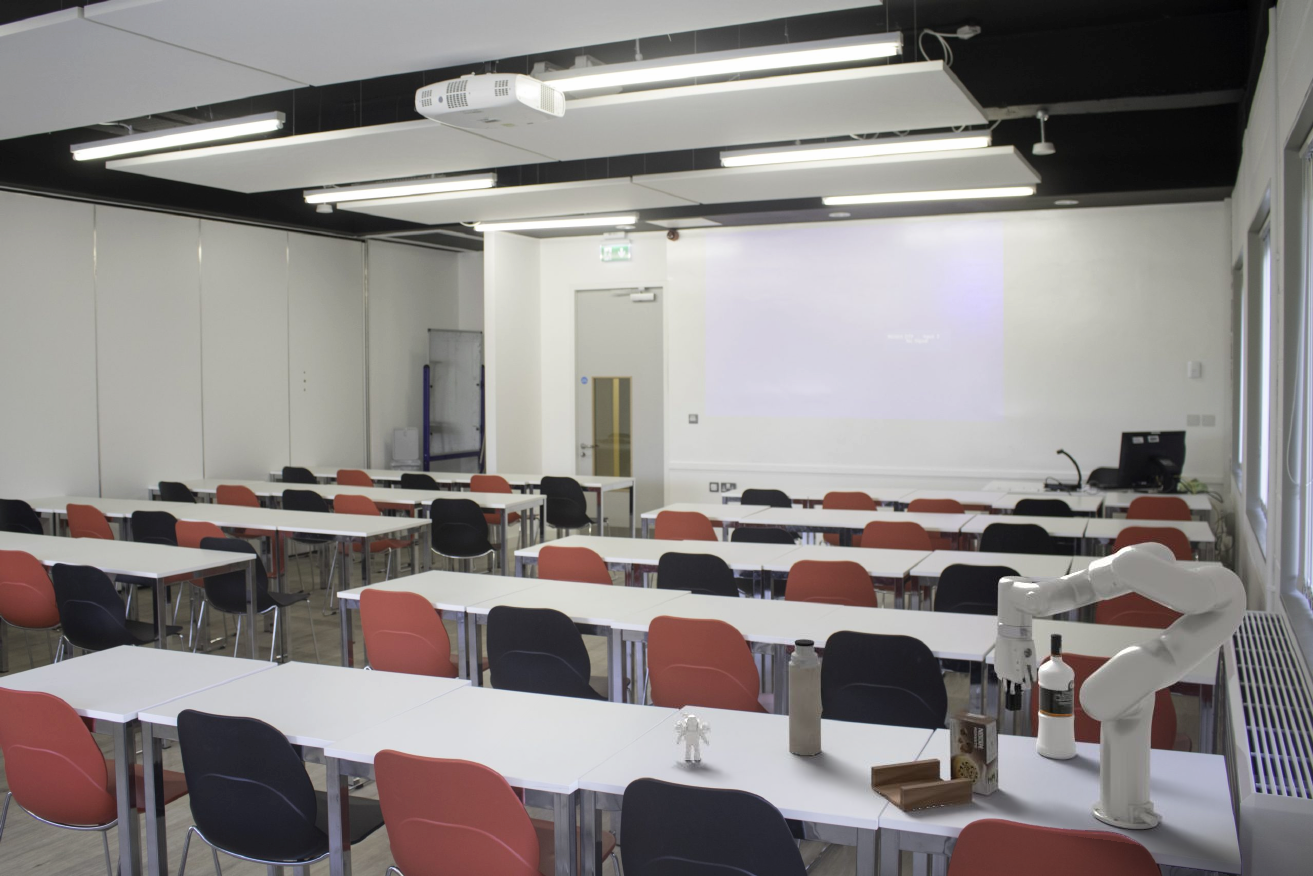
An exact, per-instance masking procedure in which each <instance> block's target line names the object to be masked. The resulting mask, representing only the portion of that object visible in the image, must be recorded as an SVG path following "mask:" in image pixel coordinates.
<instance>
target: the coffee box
mask: <svg viewBox="0 0 1313 876" xmlns="http://www.w3.org/2000/svg"><path fill="white" fill-rule="evenodd" d="M948 719H949V754H950V755H949V758H950V759H949V762H950V764H949V765H950V768H949V769H950V771H949V772H950V777H949V778H950V780H955V779H962V778H970V779H971V780H972V793H976V794H979V795H980V794H981V795H984V796H989V795H991V794H992V793H994V792H995V791H997V790H998V789H999V718H998V717H995V716H994V717H993V716H989V715H984V714H980V713H974V712H969V711H963V710H960V711H958V712H956V713H954V715H952V716H950V717H949V718H948Z"/></svg>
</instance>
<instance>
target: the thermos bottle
mask: <svg viewBox="0 0 1313 876" xmlns="http://www.w3.org/2000/svg"><path fill="white" fill-rule="evenodd" d="M794 645H795V646H794V651H793V652H791V655H790V656H791V657H790V661H788V749H789V752H790V751H791V752H790V753H792V752H793V753H795V754H794V755H797V754H800V755H799V756H802V755H812V756H814V755H813V754H817V753H819V752H820V751H821V752H822V711H821V710H822V697H821V694H822V693H821V690H822V689H821V688H822V687H821V686H822V685H821V683H822V682H821V681H822V680H821V677H822V675H821V674H822V673H821V670H822V669H821V667H822V666H821V665H822V664H821V662H820V661H819V660H818V659H819V655H818V653H817V652H815V646H814V645H815V641H814V640H812V639H807V638H806V639H805V638H801V639H796V640H794ZM821 752H820V753H821ZM793 753H792V754H793ZM820 753H819V754H820ZM817 755H818V754H817Z"/></svg>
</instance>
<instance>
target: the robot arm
mask: <svg viewBox="0 0 1313 876" xmlns="http://www.w3.org/2000/svg"><path fill="white" fill-rule="evenodd" d="M997 588H998V589H997V628H996V629H997V634H996V639H995V646H994V653H993V654H994V655H993V657H994V658H993V666H994V667H993V668H994V673H996V676H997V678H998V679H999V680H1000V681H1001V682H1002V685H1003V691H1004V693H1005V694H1004V695H1005V697H1004V698H1005V700H1004V708H1005V710H1008V711H1010V712H1013V711H1014V712H1015V711H1021V710H1022V697H1023V696H1022V694H1023V693H1024V691H1030V690H1031V689H1032V685H1031V684H1032V683H1036V682H1037V681H1038V680H1037V679H1038V677H1037V676H1038V669H1037V667H1038V665H1037V662H1038V661H1037V654H1036V653H1037V651H1036V650H1037V649H1036V646H1035V645H1036V644H1035V640H1034V639H1033V617H1037V618H1045V617H1049V616H1054V615H1057V614H1061V613H1065V612H1069V611H1072V610H1076V609H1078V608H1081V607H1085V606H1088V605H1091V604H1093V603H1097V602H1100V601H1103V600H1104V601H1108V600H1112V599H1114V598H1118V597H1120V596H1124V595H1127V594H1129V593H1133V592H1134V593H1135V594H1138V595H1141V596H1142V597H1144V598H1147V599H1149V600H1151V601H1153V602H1155V603H1158V604H1159V605H1162V606H1164V607H1167V608H1168V609H1171V610H1173V611H1174V612H1177V613H1180V614H1184V615H1182V616H1181V617H1179V618H1178V619H1176V620H1175V621H1174V622H1173V623H1172V624H1171V625H1170V626H1168V627H1167V628H1165V629H1164V630H1163V631H1162V632H1160V633H1158V634H1157V635H1156V636H1154V637H1152V638H1150V639H1147V640H1144V641H1140V642H1137V643H1134V644H1131V645H1128V646H1127V647H1125V648H1123V649H1122V650H1120V651H1119V652H1118V653H1117V654H1115V655H1113V657H1111V658H1109V660H1108V661H1106V662H1105V663H1104V664H1102V665H1101V666H1100V667H1099V668H1098V669H1096V671H1094V672H1093V673H1091V674H1090V675H1089V676H1088V677H1087V678H1086V679H1085V680H1084V681H1083V683H1082V685H1081V686H1080V690H1079V702H1080V705H1081V708H1082V710H1083V711H1084V712H1085V714H1087V715H1088V717H1090V718H1092V719H1093V720H1095V721H1098V722H1100V735H1099V738H1100V739H1099V741H1100V742H1099V744H1100V745H1099V752H1100V753H1099V754H1100V755H1099V759H1100V760H1099V767H1100V768H1099V801H1096V802H1095V803H1093V805H1092V808H1091V813H1092V815H1093V816H1094V818H1097V819H1098V820H1099V821H1100V822H1103V823H1104V824H1105V823H1106V824H1107V825H1110V826H1115V827H1119V828H1122V829H1131V830H1145V829H1146V830H1147V829H1151V828H1154V827H1157V825H1158V823H1159V822H1162V821H1163V815H1162V814H1160V813H1158V812H1156V811H1155V809H1154V807H1155V803H1154V802H1153V801H1151V747H1152V746H1151V745H1152V744H1151V743H1152V742H1151V741H1152V740H1151V738H1152V736H1151V735H1152V722H1153V715H1154V708H1155V705H1156V704H1155V703H1156V702H1155V701H1156V692H1158V691H1160V690H1162V689H1165V688H1167V687H1169V686H1172V685H1175V684H1176V683H1177V682H1178V681H1180V680H1181V679H1183V677H1185V675H1187V674H1188V673H1189V672H1191V671H1192V670H1193V669H1194V668H1196V667H1197V666H1198V665H1199V664H1201V663H1202V662H1204V661H1205V660H1206V659H1207V658H1208V657H1209V656H1210V655H1212V654H1213V653H1214V652H1215V651H1216V650H1217V649H1219V648H1220V647H1221V646H1223V645H1224V644H1225V643H1227V641H1228V640H1229V639H1231V637H1232V636H1233V635H1234V634H1235V633H1236V632H1237V630H1238V629H1239V628H1240V626H1241V624H1242V622H1243V620H1244V618H1245V615H1246V611H1247V594H1246V589H1245V586H1244V584H1243V582H1242V581H1241V579H1240V577H1239V576H1238V575H1237V574H1236V573H1235V572H1234V571H1232V570H1231V569H1229V568H1227V567H1225V566H1221V565H1215V564H1214V565H1202V566H1198V567H1195V568H1194V567H1193V568H1189V569H1186V568H1184V567H1182V566H1179V565H1177V560H1176V556H1175V554H1174V552H1173V551H1172V549H1170V548H1169V547H1168V546H1166V545H1164V544H1162V543H1159V542H1155V541H1149V542H1142V543H1137V544H1132V545H1131V544H1130V545H1128V546H1125V547H1122V548H1121V549H1120V550H1118V551H1117V552H1115V553H1113V554H1110V555H1107V556H1103V557H1101V558H1098V559H1095V560H1092V561H1091V562H1089V564H1088V567H1086V568H1085V569H1081V570H1079V571H1077V572H1073V573H1071V574H1068V575H1064V576H1061V577H1058V578H1053V579H1048V580H1044V581H1038V582H1032V580H1031V579H1029V578H1027V577H1024V576H1020V575H1019V576H1017V575H1015V576H1014V575H1010V576H1009V575H1008V576H1003V577H1001V578H1000V579H999V581H998V585H997Z"/></svg>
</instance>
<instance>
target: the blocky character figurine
mask: <svg viewBox="0 0 1313 876" xmlns="http://www.w3.org/2000/svg"><path fill="white" fill-rule="evenodd" d="M680 716H682V717H684V722H685V724H684V722H682V721H680V720H678V721H677V722H675V724H676V725H674V726H673V727H674V728H675V729H674V731H676V733H677V734H678V736H677V739H676V744H677V745H680V744H681V742H684V741H685V754H684V760H685V759H687V760H690V759H691V760H692V748H693V751H694V752H693V761H694V760H700V759H702V758H701V753H700V752H701V751H700V742H699V741H700V739H701V740H702V741H703V743H704V744H706V747H708V746H709V745H710V741H709V740H708V738H707V736H706V734H708V732H709V733H711V731H712V730H711V727H710V724H709V723H708V722H707V721H704V722H703V723H702V724H701V725H700V719H698V717H697V716H696V715H694V714H690V715H689V713H688V712H686V713H685V712H683V711H681V712H680ZM691 760H690V761H691ZM700 761H701V760H700Z"/></svg>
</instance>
